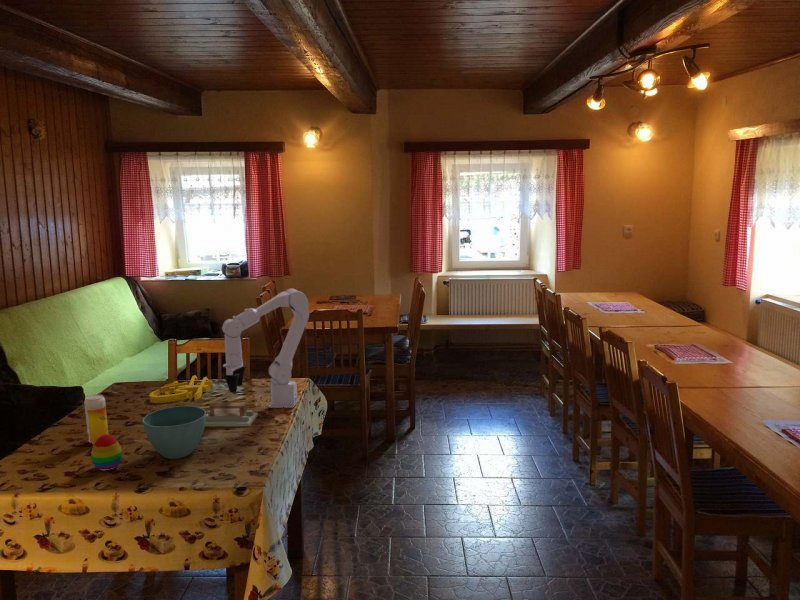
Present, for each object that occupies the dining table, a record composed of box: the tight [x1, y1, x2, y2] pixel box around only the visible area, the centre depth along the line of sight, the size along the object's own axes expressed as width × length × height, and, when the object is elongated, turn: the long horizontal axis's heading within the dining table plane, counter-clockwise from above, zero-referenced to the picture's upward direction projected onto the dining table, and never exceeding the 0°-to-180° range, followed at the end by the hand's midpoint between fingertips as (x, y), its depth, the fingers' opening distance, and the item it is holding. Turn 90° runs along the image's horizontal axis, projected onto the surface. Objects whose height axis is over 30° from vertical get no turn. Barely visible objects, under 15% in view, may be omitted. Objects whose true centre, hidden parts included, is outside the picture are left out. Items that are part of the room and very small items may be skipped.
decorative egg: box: [90, 434, 123, 470], centre depth 190 cm, size 8×8×10 cm
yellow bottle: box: [83, 394, 109, 445], centre depth 210 cm, size 6×6×15 cm
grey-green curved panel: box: [205, 409, 259, 427], centre depth 228 cm, size 18×11×2 cm, turn 88°
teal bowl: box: [142, 405, 207, 460], centre depth 199 cm, size 18×18×12 cm
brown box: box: [209, 402, 248, 416], centre depth 227 cm, size 12×4×5 cm, turn 88°
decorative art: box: [149, 374, 213, 404], centre depth 264 cm, size 21×3×30 cm
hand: (236, 389), depth 235 cm, fingers open, 7 cm apart
